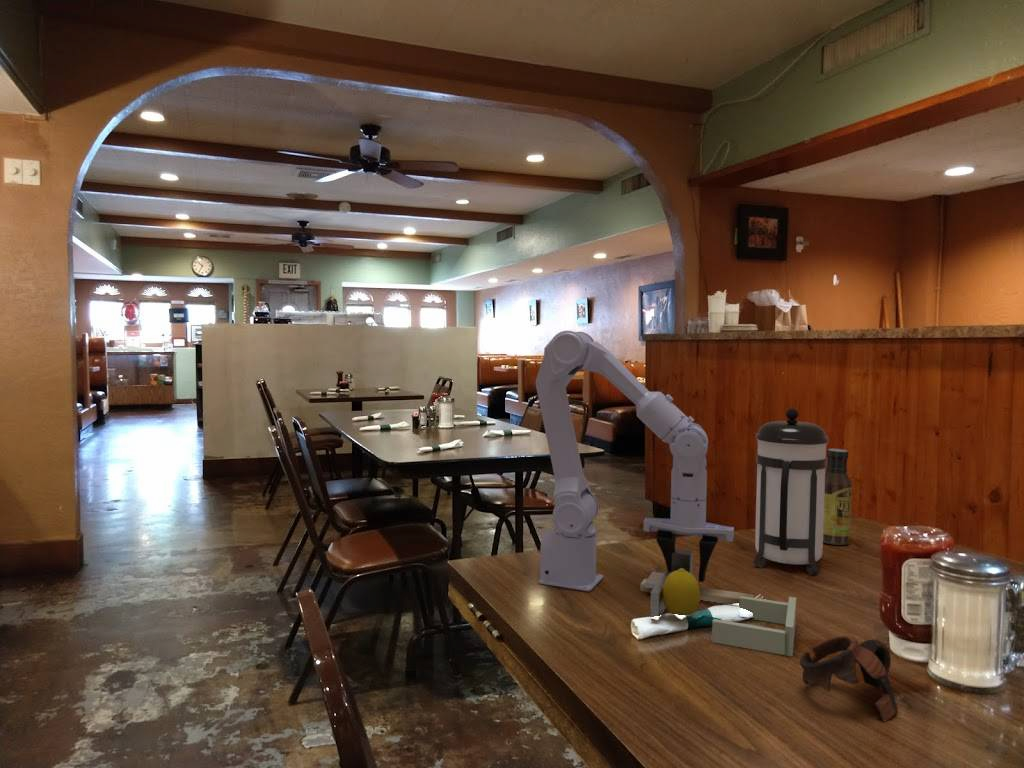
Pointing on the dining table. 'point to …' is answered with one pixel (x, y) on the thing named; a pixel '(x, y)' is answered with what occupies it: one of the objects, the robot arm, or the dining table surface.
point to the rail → (711, 594)
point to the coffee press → (790, 492)
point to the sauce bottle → (837, 499)
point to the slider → (656, 580)
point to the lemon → (681, 593)
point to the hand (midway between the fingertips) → (686, 577)
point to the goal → (758, 635)
